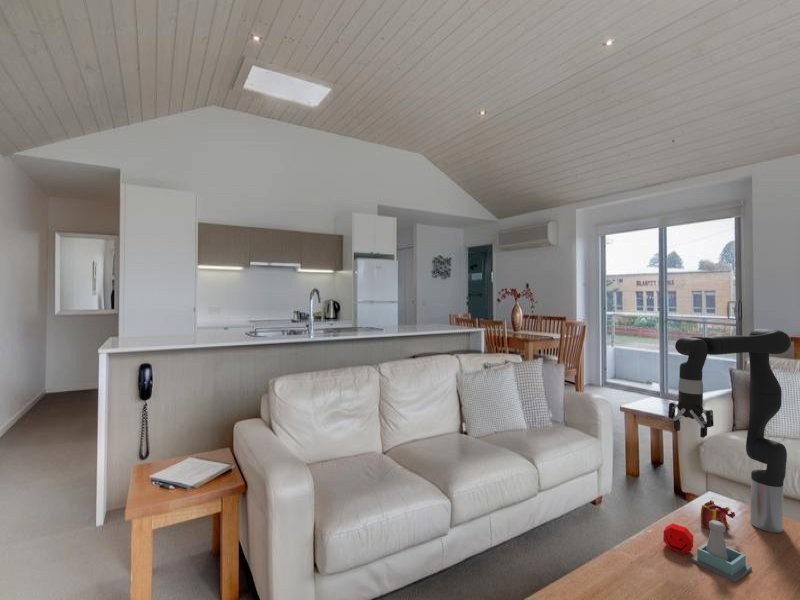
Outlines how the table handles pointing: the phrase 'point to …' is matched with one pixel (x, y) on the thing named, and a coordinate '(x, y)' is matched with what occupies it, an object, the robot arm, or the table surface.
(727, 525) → the book monster
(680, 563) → the table surface
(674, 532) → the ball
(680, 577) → the table surface
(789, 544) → the table surface
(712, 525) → the salt shaker
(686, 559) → the table surface
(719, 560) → the stand
